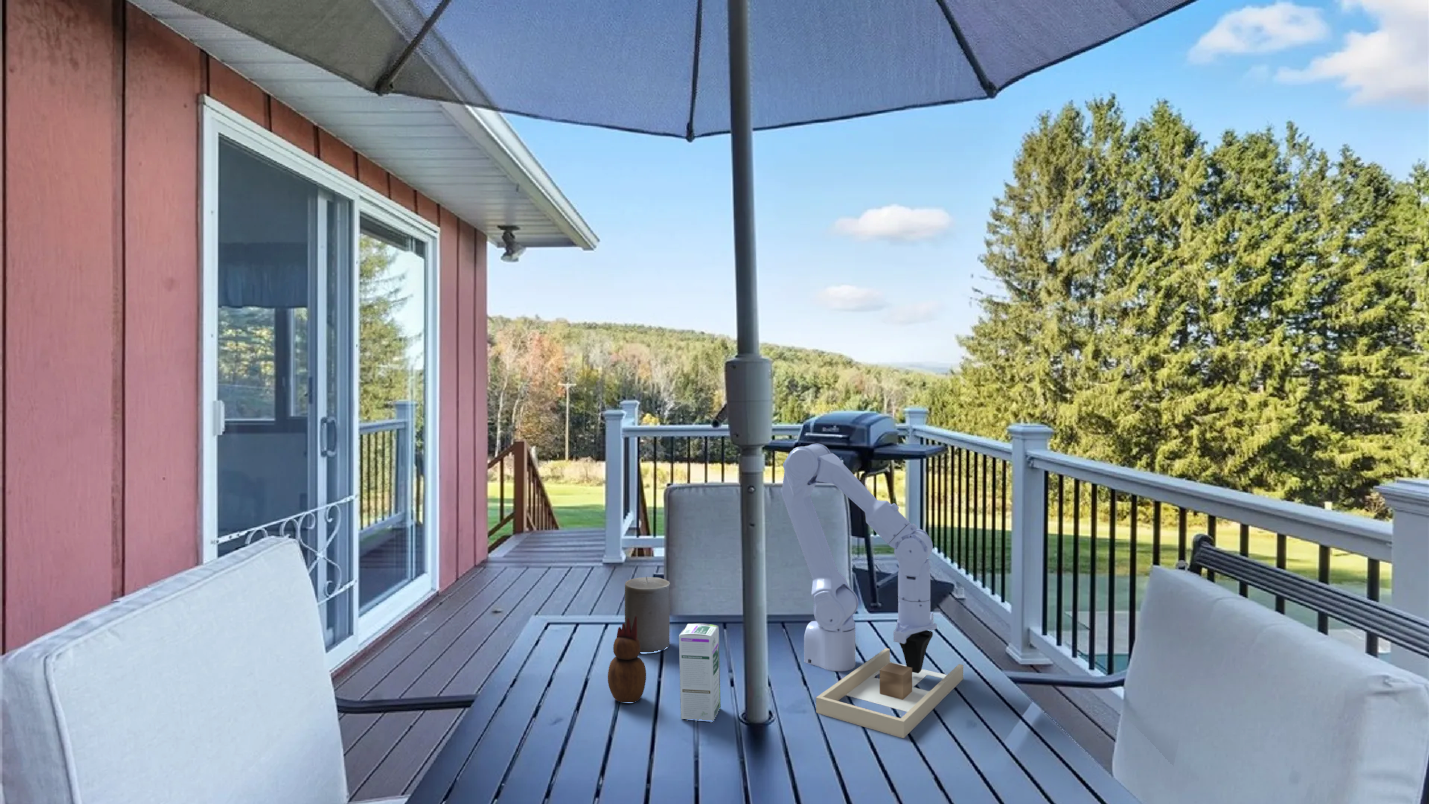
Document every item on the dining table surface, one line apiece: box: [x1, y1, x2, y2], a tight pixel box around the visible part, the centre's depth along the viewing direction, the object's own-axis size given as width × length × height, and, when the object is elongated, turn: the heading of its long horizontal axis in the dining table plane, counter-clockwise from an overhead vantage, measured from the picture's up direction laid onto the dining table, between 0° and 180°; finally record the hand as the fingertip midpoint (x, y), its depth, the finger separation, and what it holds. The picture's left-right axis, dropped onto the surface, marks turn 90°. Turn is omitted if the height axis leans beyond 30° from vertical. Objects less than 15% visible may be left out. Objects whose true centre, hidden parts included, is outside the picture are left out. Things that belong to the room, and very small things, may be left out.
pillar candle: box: [624, 576, 671, 652], centre depth 155 cm, size 10×10×15 cm
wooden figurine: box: [607, 616, 647, 703], centre depth 128 cm, size 7×6×15 cm
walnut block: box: [879, 662, 912, 700], centre depth 127 cm, size 4×4×4 cm
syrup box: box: [678, 623, 721, 721], centre depth 122 cm, size 6×6×14 cm
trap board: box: [815, 647, 964, 739], centre depth 126 cm, size 15×28×4 cm, turn 143°
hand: (914, 671), depth 134 cm, fingers closed
